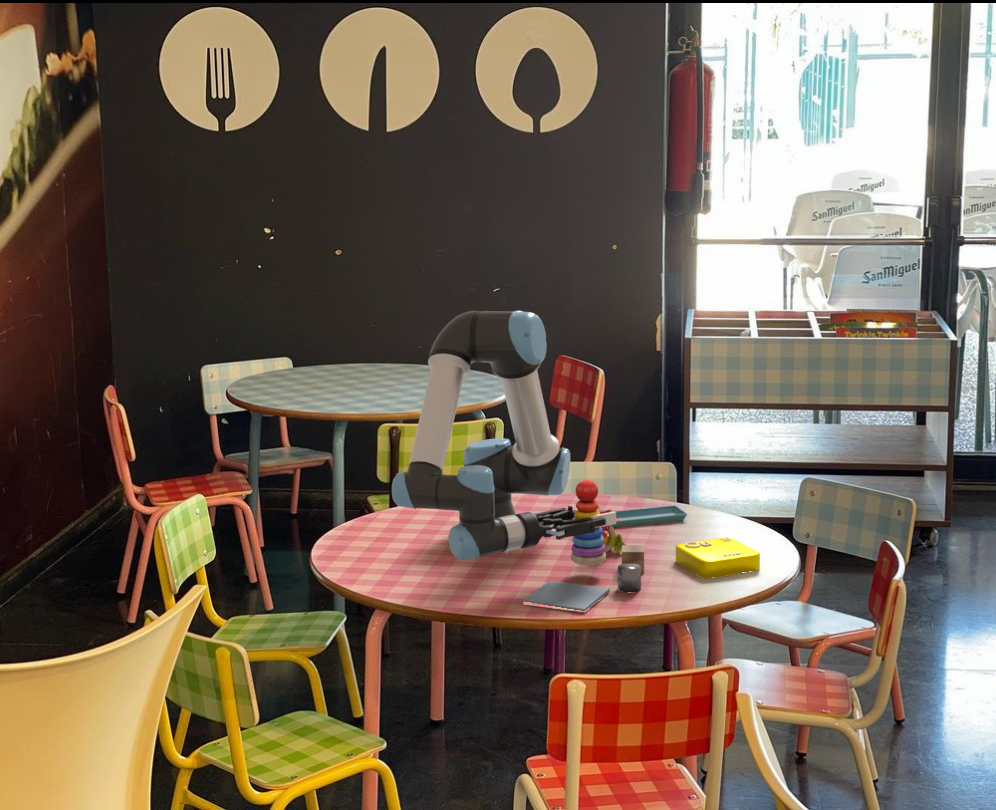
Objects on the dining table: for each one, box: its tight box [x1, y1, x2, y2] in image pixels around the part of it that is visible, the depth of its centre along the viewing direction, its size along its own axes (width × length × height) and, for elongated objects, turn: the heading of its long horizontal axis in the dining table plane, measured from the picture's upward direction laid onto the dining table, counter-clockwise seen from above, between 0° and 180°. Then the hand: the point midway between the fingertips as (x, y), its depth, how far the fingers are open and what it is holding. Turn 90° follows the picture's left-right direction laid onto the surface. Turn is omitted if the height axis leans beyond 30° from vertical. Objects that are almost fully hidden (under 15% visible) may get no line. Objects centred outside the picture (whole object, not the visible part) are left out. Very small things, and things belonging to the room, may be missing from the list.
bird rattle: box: [600, 509, 627, 554], centre depth 314 cm, size 6×11×9 cm
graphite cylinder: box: [617, 563, 642, 593], centre depth 289 cm, size 5×5×5 cm
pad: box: [522, 580, 611, 611], centre depth 284 cm, size 14×14×1 cm
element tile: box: [675, 536, 761, 579], centre depth 304 cm, size 15×15×5 cm
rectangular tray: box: [611, 504, 688, 528], centre depth 341 cm, size 26×9×2 cm, turn 102°
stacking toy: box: [570, 479, 607, 567], centre depth 297 cm, size 8×8×19 cm
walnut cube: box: [621, 544, 645, 574], centre depth 302 cm, size 5×5×5 cm
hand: (606, 514), depth 300 cm, fingers closed on stacking toy, 6 cm apart
